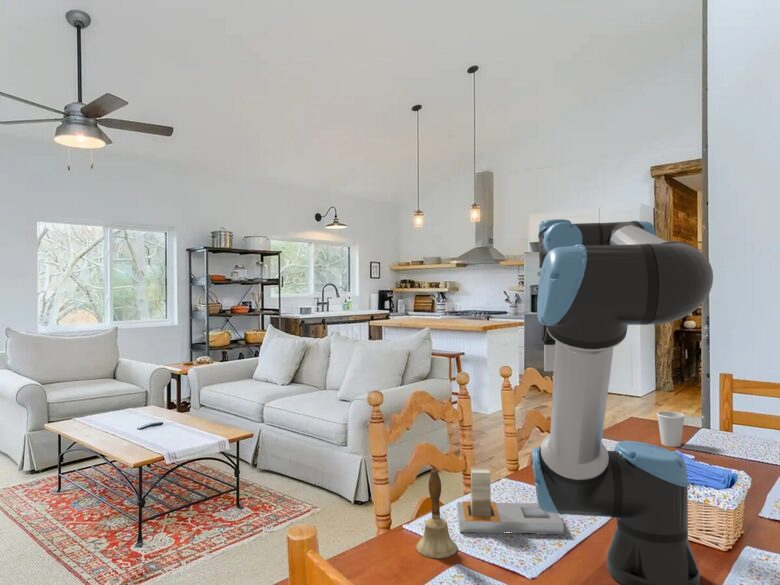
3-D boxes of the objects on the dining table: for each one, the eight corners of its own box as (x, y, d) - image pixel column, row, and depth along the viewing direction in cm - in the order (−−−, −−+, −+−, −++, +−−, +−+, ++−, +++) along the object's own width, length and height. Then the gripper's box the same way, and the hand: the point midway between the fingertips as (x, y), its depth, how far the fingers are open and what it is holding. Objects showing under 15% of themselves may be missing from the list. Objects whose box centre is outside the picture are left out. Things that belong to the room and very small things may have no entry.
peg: (490, 526, 116) (490, 472, 116) (472, 526, 116) (471, 472, 116) (488, 518, 120) (488, 466, 120) (471, 518, 120) (470, 466, 120)
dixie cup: (651, 442, 175) (650, 412, 175) (668, 439, 179) (667, 410, 179) (673, 449, 168) (673, 418, 168) (691, 445, 171) (690, 415, 171)
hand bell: (424, 561, 101) (423, 479, 101) (411, 541, 109) (410, 465, 109) (463, 555, 104) (462, 475, 103) (448, 536, 112) (447, 461, 111)
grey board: (563, 534, 111) (563, 522, 111) (459, 532, 113) (459, 520, 113) (552, 514, 121) (552, 502, 121) (457, 512, 123) (457, 501, 123)
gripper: (529, 286, 136) (530, 367, 137) (551, 286, 112) (553, 385, 112) (559, 285, 136) (560, 367, 136) (588, 285, 111) (589, 385, 111)
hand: (556, 375), depth 124 cm, fingers open, 13 cm apart
